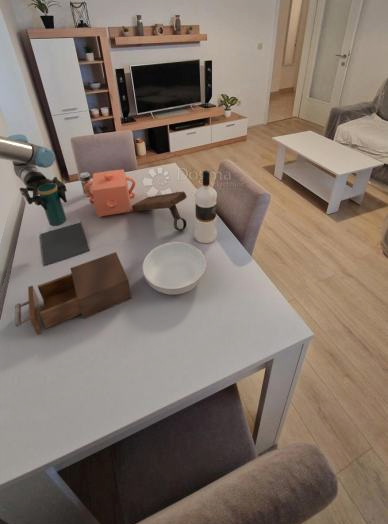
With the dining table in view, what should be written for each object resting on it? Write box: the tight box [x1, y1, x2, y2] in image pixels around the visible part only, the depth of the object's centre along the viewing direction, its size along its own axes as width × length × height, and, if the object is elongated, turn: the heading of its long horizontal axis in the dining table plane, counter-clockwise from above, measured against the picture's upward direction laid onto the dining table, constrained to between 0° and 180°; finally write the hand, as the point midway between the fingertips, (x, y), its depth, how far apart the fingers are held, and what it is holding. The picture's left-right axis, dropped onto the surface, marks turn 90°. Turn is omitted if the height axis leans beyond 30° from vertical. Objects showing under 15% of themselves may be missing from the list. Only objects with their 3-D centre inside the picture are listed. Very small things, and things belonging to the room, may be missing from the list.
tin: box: [37, 183, 67, 227], centre depth 101 cm, size 6×6×15 cm
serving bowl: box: [142, 241, 207, 295], centre depth 93 cm, size 21×21×7 cm
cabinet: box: [70, 251, 132, 320], centre depth 87 cm, size 15×14×9 cm
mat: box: [39, 221, 90, 267], centre depth 110 cm, size 20×16×1 cm
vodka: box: [193, 170, 218, 244], centre depth 105 cm, size 9×9×30 cm
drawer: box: [14, 273, 82, 336], centre depth 81 cm, size 18×12×7 cm
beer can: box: [79, 171, 93, 197], centre depth 139 cm, size 5×5×12 cm
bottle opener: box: [131, 191, 188, 232], centre depth 122 cm, size 10×16×30 cm
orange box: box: [84, 169, 136, 218], centre depth 125 cm, size 25×23×18 cm
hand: (55, 202), depth 96 cm, fingers closed on tin, 6 cm apart
